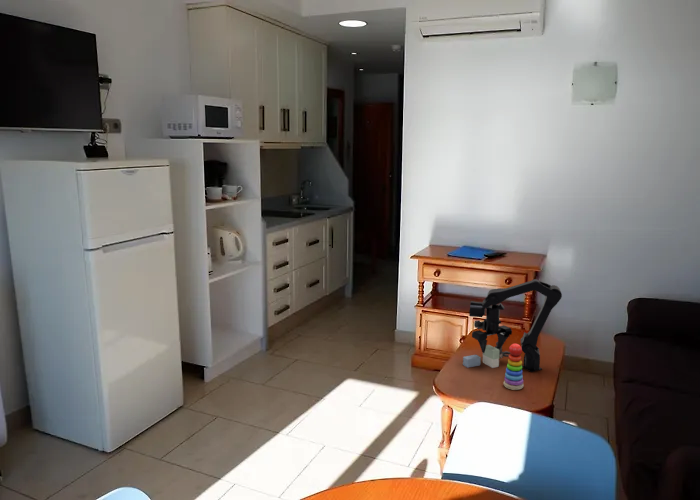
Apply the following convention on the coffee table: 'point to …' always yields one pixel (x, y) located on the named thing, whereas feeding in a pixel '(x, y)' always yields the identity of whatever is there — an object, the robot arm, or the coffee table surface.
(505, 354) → the stuffed animal
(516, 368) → the stacking toy
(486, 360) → the cream brick
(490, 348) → the sage brick
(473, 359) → the slate brick
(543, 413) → the coffee table surface
